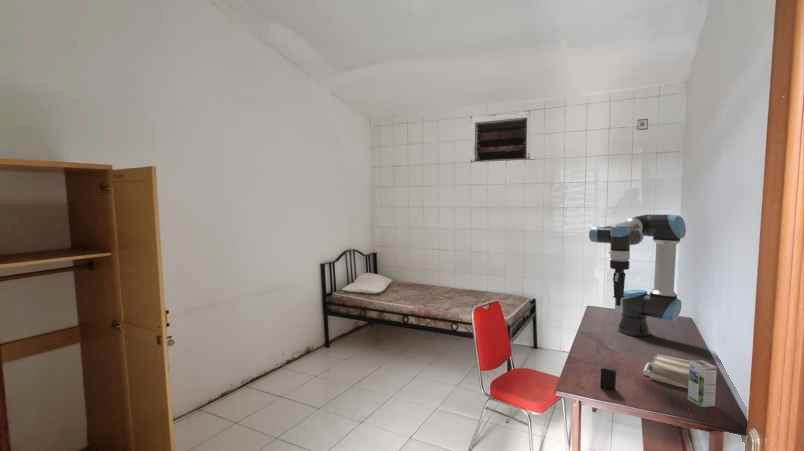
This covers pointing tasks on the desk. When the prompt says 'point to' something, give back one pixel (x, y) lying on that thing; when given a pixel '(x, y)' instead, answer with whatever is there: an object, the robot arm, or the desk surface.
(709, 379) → the syrup box
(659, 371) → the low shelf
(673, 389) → the desk surface
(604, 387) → the ink cartridge
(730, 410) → the desk surface
